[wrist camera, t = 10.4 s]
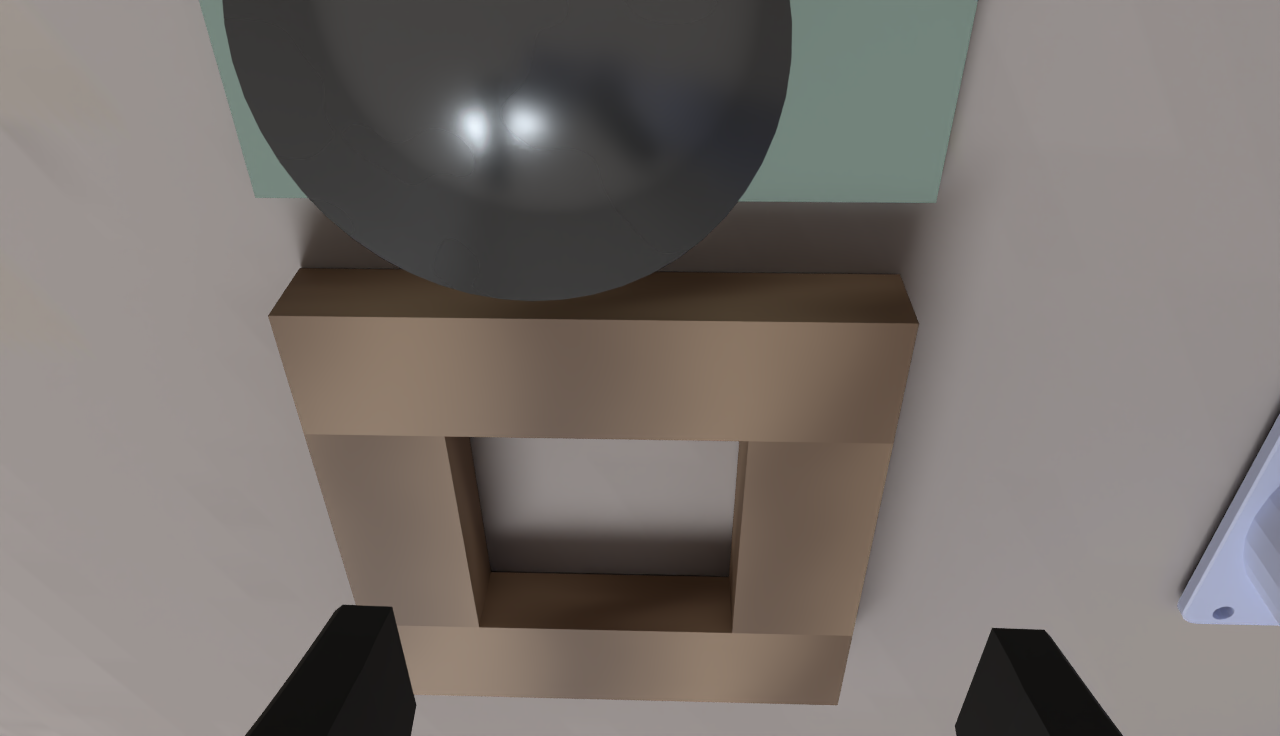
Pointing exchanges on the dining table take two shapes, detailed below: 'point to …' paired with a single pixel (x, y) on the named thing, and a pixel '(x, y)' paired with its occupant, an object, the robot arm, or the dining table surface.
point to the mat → (793, 103)
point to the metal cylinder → (518, 127)
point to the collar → (605, 409)
